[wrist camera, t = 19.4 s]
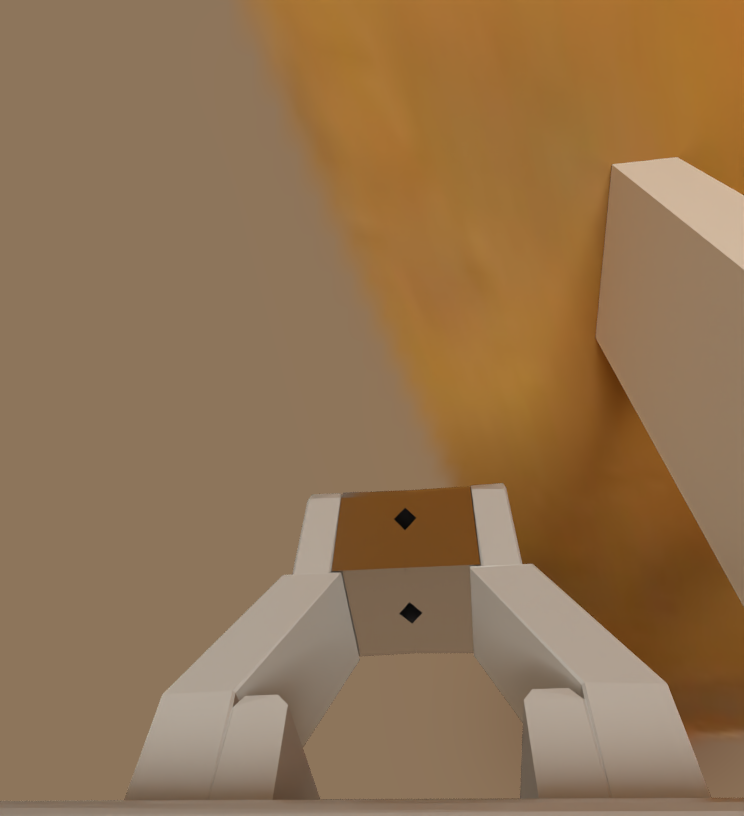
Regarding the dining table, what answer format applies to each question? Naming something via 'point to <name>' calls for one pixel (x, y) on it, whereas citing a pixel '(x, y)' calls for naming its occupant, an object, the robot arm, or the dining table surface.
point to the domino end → (682, 333)
